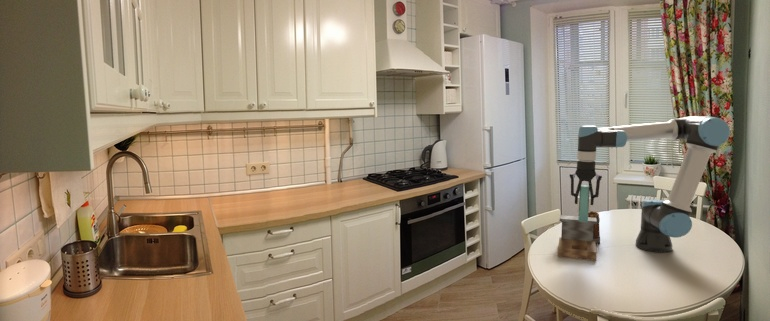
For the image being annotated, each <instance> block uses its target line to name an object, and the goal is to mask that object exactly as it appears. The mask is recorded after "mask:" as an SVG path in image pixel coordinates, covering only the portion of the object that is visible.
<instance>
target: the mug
mask: <svg viewBox="0 0 770 321" xmlns="http://www.w3.org/2000/svg"><path fill="white" fill-rule="evenodd" d="M588 217H591V218H596V220H597V224H594V229H593V240H595V244H596V246H597V245H599V244H600V243H601V236H600V235H601V234H600V220H601V219H600V214H599V212H597V211H592V210H590V213H588Z"/></svg>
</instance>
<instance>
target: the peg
mask: <svg viewBox="0 0 770 321" xmlns="http://www.w3.org/2000/svg"><path fill="white" fill-rule="evenodd" d="M579 197H580V200H579V212H578V221H580V222H588V208H589V197H590V189H589V185H585V184H584V185H583V184H581V187H580V191H579Z"/></svg>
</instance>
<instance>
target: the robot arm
mask: <svg viewBox="0 0 770 321" xmlns="http://www.w3.org/2000/svg"><path fill="white" fill-rule="evenodd" d="M577 135H578V136H577V155H576V157H577V158H576V159H577V161H576V170H575V172H573V173H572V172H570V173H569V177H570V178H569V179H570V196H572V197H574V204H575V205H577V206H576V212H578V213H579V200H580V187H581V185H583V182H588V186H589V189H590V192H589V208H588V213H590V211H591V206H594V201H595V200H594V199H595V198H598V197H599V194H600V193H599V192H600V183H601V180H602V178H603V176H602V174H598V173H597V172H596V160H597V148H623V147H625V146H626V144H627V143H628V142H637V141H638V142H639V141H640V142H641V141H651V140H661V139H670V140H672V141H676V140H678V141H679V140H680V141H686V142H685V146H686V148H687V150H686V151H685V152H686V153H685V155H684V157H683V159H682V162H681V164H680V167H679V170H678V172H677V175H676V178H675V180H674V183H673V185H672V187H671V190H670V193H669V195H668V197H667V199H664V200H663V199H644V200H643V201H642V203H641V214H640V215H641V217H640V229H639V230H640V231H639V233H638V234H637V237H636V239H635V246H636V247H637V248H638V249H641V250H645V251H649V252H654V253H668V252H671V251H673V243H672V238H674V239H675V238H682V237H684V236H686V235H687V234H689V232H690V231H691V229H692V228H693V221H692V219H691V215H692V212H693V210H692V208H691V204H692V201H693V199H694V196H695V194H696V191H697V189H698V186H699V184H700V182H701V180H702V176H703V174H704V172H705V169H706V167H707V165H708V162H709V159H710V157H711V155H712V154H713V153H716V152H717V151H718V149H719V147H720V146H721V145H723V144H725V143H726V142H727V141H728V140H729V138H730V135H731V130H730V126H729V124H728V123H727V122H726V121H725V120H724V119H722V118H720V117H716V116H705V115H692V116H691V115H690V116H684V117H679V118H671V119H669V120H668V121H664V122H663V121H662V122H651V123H639V124H638V123H637V124H630V125H619V126H607V127H600V126H599V127H598V126H596V125H581V126H580V127H579V128H578V134H577ZM576 177H577V178H578V183H577V187H576V190H575V189H574V188H575V180H574V179H575V178H576ZM594 178H595V179H596V182H595V183H596V184H595V193H594V190H593V184H592V181H593V179H594Z"/></svg>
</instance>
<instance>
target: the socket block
mask: <svg viewBox="0 0 770 321" xmlns="http://www.w3.org/2000/svg"><path fill="white" fill-rule="evenodd" d="M578 216H579V215H578ZM578 216H576V215H563V214H560V215H559V222H561V236H560V237H558V245H557V246H558V247H557V258H565V259H566V258H567V259H575V260H585V261H593V262H596V261H597V255H598V254H597V253H598V252H597V245H596V244H595V240H593V229H594V224H597V220H596V218H591V217H588V222H580V221H578Z"/></svg>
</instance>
